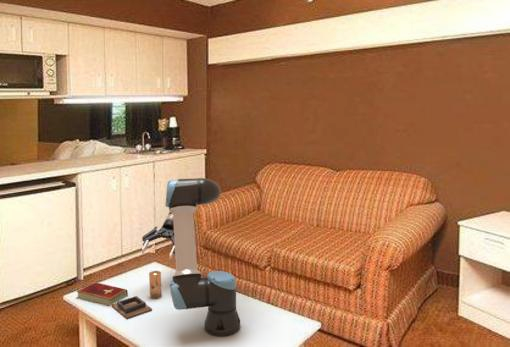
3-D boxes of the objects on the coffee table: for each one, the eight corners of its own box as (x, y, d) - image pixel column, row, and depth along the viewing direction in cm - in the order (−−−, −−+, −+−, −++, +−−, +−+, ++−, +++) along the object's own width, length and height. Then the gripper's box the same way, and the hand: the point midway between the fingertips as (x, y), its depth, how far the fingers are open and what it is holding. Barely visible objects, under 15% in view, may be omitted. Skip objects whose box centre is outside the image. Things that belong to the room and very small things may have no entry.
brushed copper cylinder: (163, 296, 207) (162, 273, 205) (153, 300, 204) (152, 276, 202) (158, 293, 211) (157, 269, 209) (148, 296, 208) (147, 272, 206)
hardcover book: (95, 289, 217) (95, 281, 216) (127, 296, 208) (127, 288, 208) (77, 298, 206) (76, 290, 206) (110, 307, 197) (109, 298, 197)
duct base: (151, 310, 193) (151, 304, 192) (126, 319, 185) (126, 312, 185) (135, 298, 205) (135, 292, 204) (111, 306, 197) (111, 300, 197)
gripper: (194, 234, 222) (181, 265, 205) (148, 224, 224) (131, 254, 207) (194, 224, 217) (181, 254, 200) (147, 214, 219) (131, 243, 202)
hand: (156, 254), depth 204 cm, fingers open, 13 cm apart
